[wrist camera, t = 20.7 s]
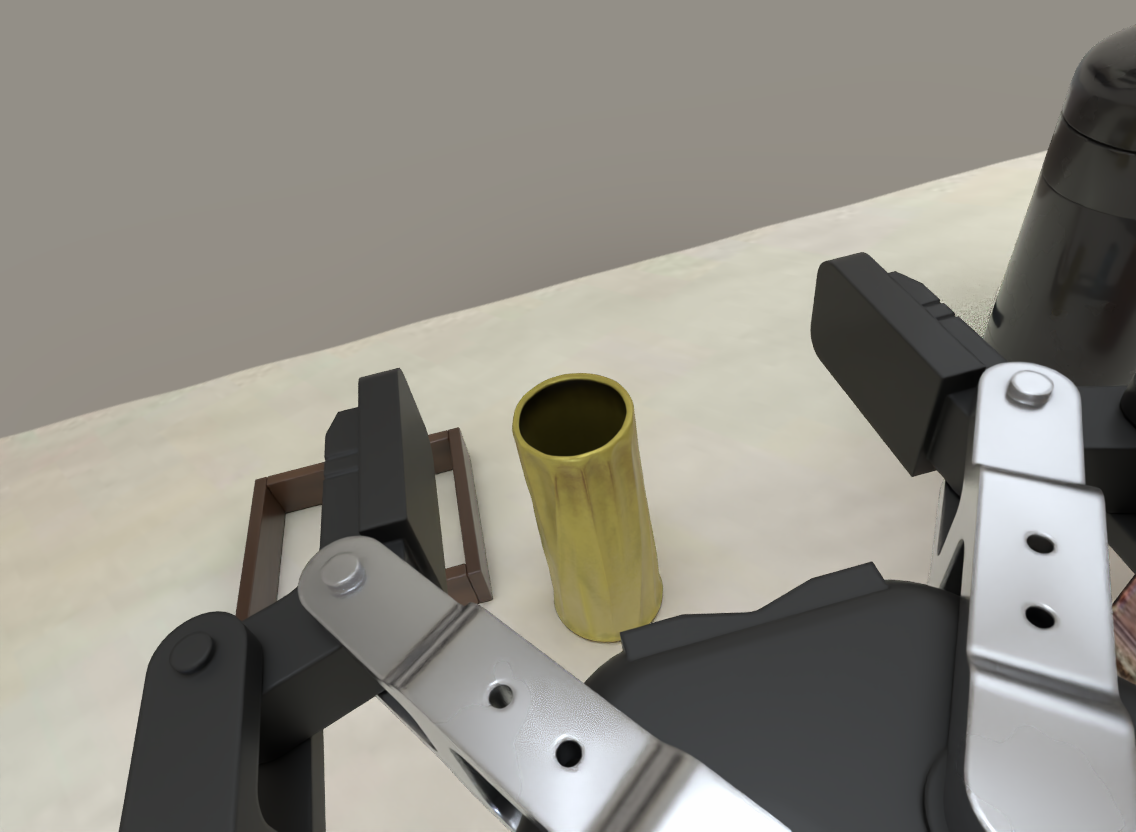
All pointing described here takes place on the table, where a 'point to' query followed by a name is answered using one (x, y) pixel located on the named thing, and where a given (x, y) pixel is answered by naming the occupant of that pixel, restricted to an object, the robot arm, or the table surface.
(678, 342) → the table surface
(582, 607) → the vase
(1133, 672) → the book
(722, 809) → the robot arm
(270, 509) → the open brown wooden box
